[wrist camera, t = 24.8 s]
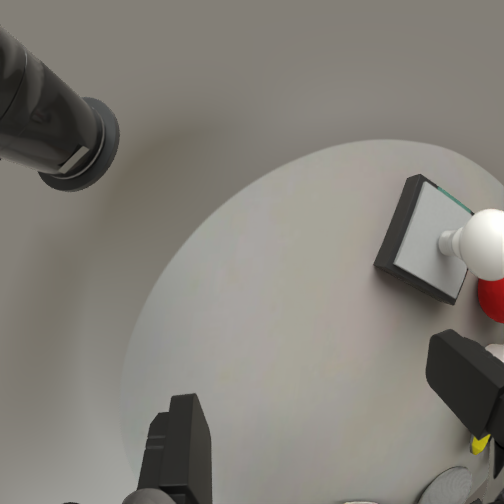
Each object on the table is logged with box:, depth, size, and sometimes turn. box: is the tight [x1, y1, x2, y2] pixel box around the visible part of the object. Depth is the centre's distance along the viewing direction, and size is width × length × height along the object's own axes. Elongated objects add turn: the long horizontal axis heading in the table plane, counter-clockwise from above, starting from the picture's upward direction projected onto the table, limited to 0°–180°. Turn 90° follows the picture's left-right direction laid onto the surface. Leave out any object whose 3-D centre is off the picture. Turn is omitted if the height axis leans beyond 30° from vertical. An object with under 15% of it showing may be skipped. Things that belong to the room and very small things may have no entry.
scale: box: [374, 174, 474, 305], centre depth 32 cm, size 11×11×4 cm
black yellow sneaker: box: [470, 434, 492, 455], centre depth 33 cm, size 15×6×10 cm
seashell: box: [418, 467, 472, 504], centre depth 33 cm, size 12×6×10 cm
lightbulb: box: [438, 209, 504, 281], centre depth 24 cm, size 6×6×11 cm
